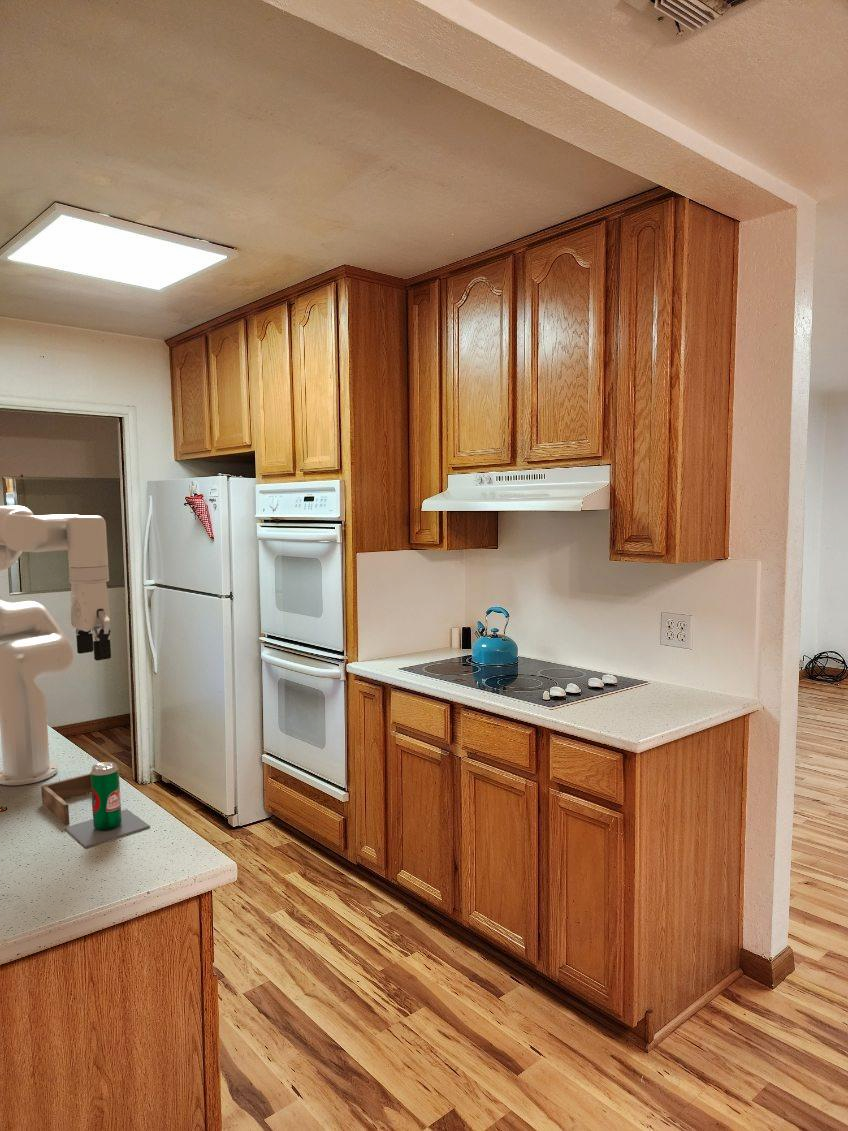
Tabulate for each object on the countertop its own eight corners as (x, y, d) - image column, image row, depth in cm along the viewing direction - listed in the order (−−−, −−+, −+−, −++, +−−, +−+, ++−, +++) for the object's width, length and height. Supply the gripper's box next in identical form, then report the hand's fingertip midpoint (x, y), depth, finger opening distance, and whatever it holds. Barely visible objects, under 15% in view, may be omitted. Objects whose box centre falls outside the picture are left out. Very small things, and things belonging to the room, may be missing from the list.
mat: (64, 829, 146) (64, 827, 146) (127, 810, 155) (126, 808, 154) (85, 848, 138) (85, 846, 138) (149, 827, 147) (149, 825, 146)
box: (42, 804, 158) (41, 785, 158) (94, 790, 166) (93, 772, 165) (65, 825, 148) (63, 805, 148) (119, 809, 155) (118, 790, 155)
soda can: (112, 832, 144) (108, 770, 142) (87, 831, 144) (84, 769, 143) (127, 821, 149) (123, 761, 147) (103, 820, 149) (99, 760, 148)
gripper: (56, 573, 162) (61, 652, 164) (85, 579, 149) (90, 665, 151) (92, 570, 167) (96, 647, 169) (123, 576, 155) (128, 659, 156)
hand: (94, 655), depth 160 cm, fingers open, 9 cm apart
